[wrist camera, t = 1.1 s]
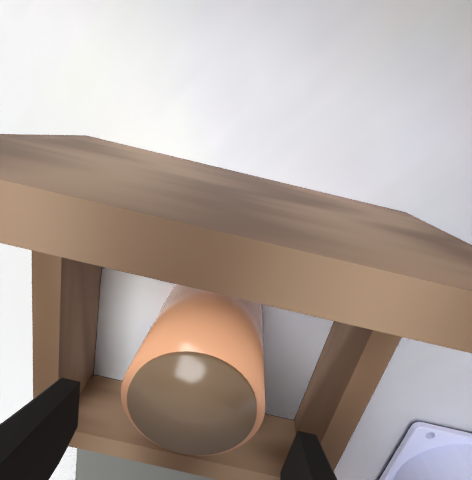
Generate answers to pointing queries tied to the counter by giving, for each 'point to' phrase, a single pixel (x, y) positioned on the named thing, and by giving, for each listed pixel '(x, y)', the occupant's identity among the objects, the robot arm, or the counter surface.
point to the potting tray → (222, 280)
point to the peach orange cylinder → (199, 374)
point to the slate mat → (123, 469)
